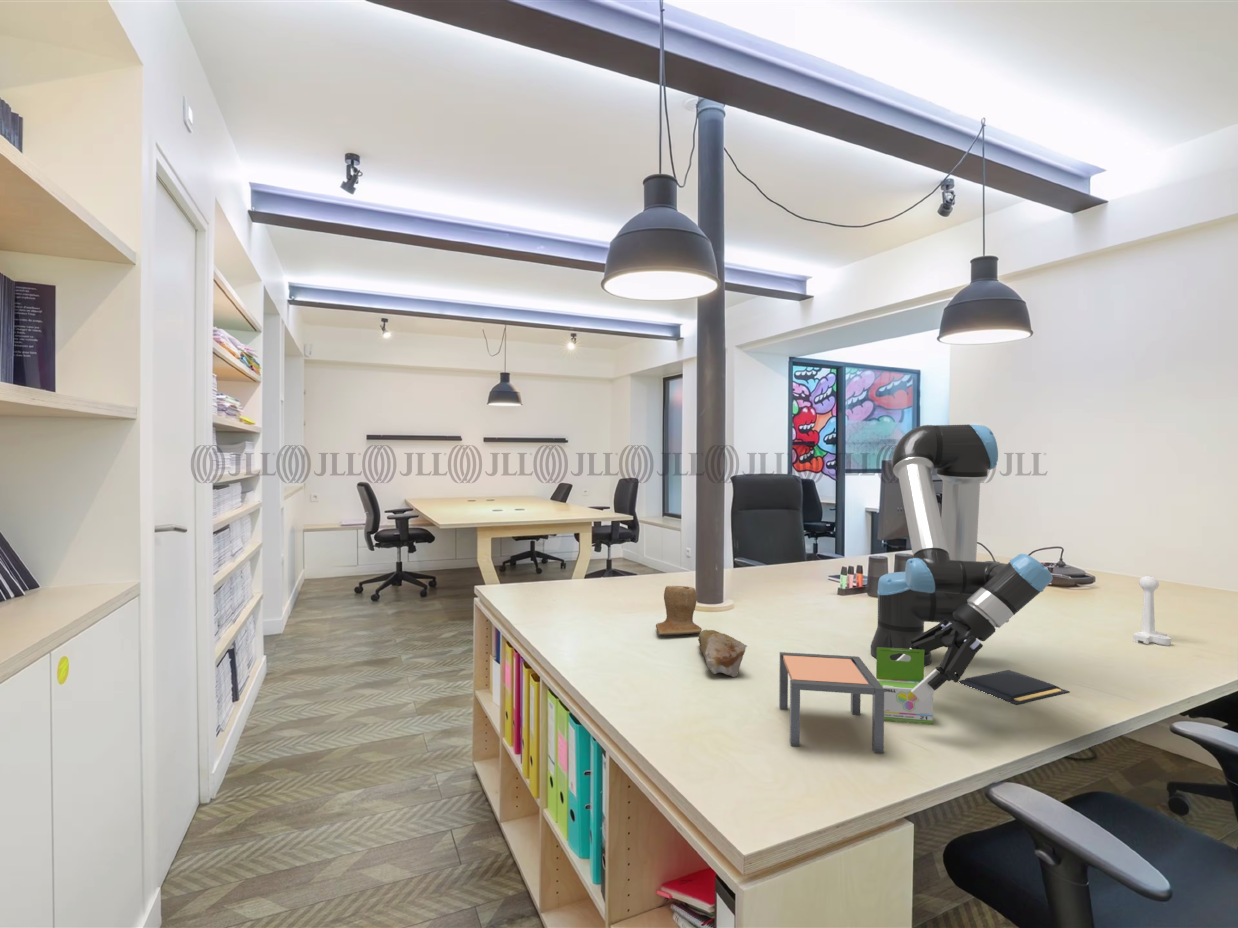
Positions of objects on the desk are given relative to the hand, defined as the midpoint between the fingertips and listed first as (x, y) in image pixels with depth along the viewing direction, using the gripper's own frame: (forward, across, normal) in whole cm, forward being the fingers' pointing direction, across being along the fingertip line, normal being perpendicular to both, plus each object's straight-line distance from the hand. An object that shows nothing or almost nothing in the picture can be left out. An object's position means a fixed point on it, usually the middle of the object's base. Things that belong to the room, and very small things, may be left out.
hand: (904, 683), depth 121 cm
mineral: (+33, +29, +22) cm, 49 cm away
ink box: (+5, +1, -6) cm, 8 cm away
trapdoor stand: (+18, -7, +8) cm, 21 cm away
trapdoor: (+9, -7, +16) cm, 20 cm away
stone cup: (+41, +53, +31) cm, 74 cm away
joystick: (-61, +68, -72) cm, 117 cm away
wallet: (-17, +23, -29) cm, 40 cm away
